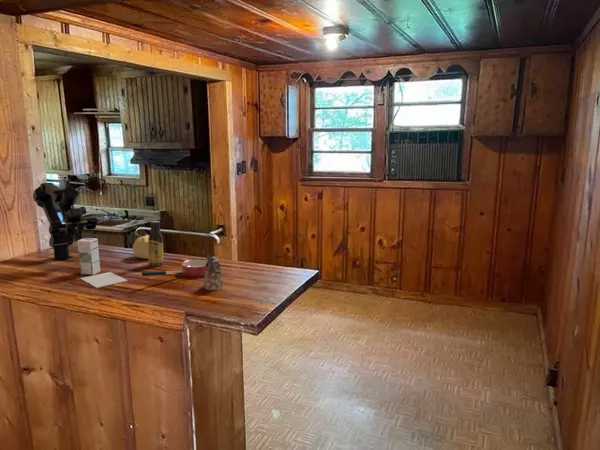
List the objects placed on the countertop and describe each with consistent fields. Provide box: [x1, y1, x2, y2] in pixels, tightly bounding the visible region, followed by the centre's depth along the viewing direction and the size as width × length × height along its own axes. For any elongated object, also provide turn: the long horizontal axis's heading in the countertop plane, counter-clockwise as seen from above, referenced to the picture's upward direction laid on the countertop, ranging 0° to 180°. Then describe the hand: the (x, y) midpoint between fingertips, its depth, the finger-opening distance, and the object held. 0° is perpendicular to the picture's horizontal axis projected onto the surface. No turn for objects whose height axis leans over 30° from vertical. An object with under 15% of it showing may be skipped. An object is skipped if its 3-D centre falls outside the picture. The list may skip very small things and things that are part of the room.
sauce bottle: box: [148, 220, 164, 267], centre depth 191 cm, size 7×6×20 cm
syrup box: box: [76, 237, 101, 276], centre depth 179 cm, size 6×6×14 cm
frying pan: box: [141, 258, 210, 278], centre depth 173 cm, size 32×13×6 cm, turn 148°
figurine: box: [203, 255, 224, 291], centre depth 163 cm, size 7×7×12 cm
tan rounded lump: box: [132, 234, 150, 260], centre depth 204 cm, size 11×12×11 cm
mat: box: [80, 271, 129, 289], centre depth 171 cm, size 16×12×1 cm
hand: (80, 241), depth 183 cm, fingers closed
